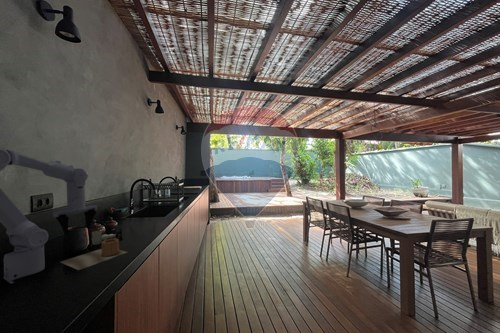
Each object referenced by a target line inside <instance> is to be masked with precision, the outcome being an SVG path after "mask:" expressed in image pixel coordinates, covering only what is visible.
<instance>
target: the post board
mask: <svg viewBox="0 0 500 333" xmlns="http://www.w3.org/2000/svg"><path fill="white" fill-rule="evenodd" d="M108 243H109V242H108ZM127 253H128V251H125V250H121V249H119V252H118V253H117V254H114V255H111V256H102V248H100V249H96V250H94V251H93V250H92V251H90V252H87V253H84V254H81V255H77V256H75V257H71V258H67V259H64V260H62V261H60V263H61V264H63V265H65V266H68V267H70V268H72V269H75V270H77V271H81V270H83V269H86V268H89V267H91V266H95V265H97V264H100V263H102V262H105V261H109V260H111V259H114V258H116V257H119V256H122V255H124V254H127Z"/></svg>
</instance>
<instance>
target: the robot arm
mask: <svg viewBox="0 0 500 333" xmlns="http://www.w3.org/2000/svg"><path fill="white" fill-rule="evenodd" d="M13 165H15V166H19V167H24V168H28V169H32V170H37V171H41V172H42V173H43V174H44V175H45V176H47V177H50V178H55V179H58V180H62V181H64V182H65V183H66V201H67V203H66V204H67V208H65V209H62V210H56V211H53V212H52V216H53V218H55V219H56V221H57V222H58V223H59V225H60V226H61V228H62V231H63V234H64V235H66V234H67V235H68V234H69V218H70V217H69V216H68V215H74V214H75V215H76V214H78V213H79V214H81V213H83V214H84V218H85V229H87V230H89V229H91V226H92V222H93V220H94V217H95V216H96V214H97V210H98V205H97V204H93V205H88V206H86V196H85V195H86V190H85V187H86V186H85V185H86V181H87V179H88V178H89V174H87V172H86V171H85V169H83V168H75V167H74V166H73V165H66V164H65V163H62V162H61V161H60V160H55V161H53V160H52V161H49V162H46V161H43V160H40V159H37V158H35V157H33V156H32V157H31V156H28V155H26V154H22V153H20V152H17V151H14V150H12V149H5V148H1V147H0V172H1V171H3V170H4V169H5V168H6V167H7V166H13ZM0 224H1V225H2V226H4V228H5V229H6V231H5V234H6V235H7V236H8V237H9V238H8V240H9V243H10V244H11V245H12V246H14V248H13V251H12V252H9V253H6V254H4V255H3V256H4V257H3V279H4V280H5V281H6V282H8V283H9V284H15V283H16V281H14V280H17V279H21V278H24V277H26V276H30V275H33V274H37V273H40V272H43V270H45V267H46V265H45V262H46V261H45V244H46V243H47V242H48V240H49V233H48V231H47V230H46V229H43V228H40V227H39V226H38V225H37V224H36V223H35V222H32V221H30V220H29V219H28V218H27V217H26V216H25V215H24V214H23V212H22V211H21V210H20V209H19V208H18V206H16V205H15V203H14V202H13V201H12V200H11V199H10V198H9V196H8V195H7V194H6V193H5V192H4V191H3V189H2V188H0Z"/></svg>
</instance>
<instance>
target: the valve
mask: <svg viewBox="0 0 500 333" xmlns="http://www.w3.org/2000/svg"><path fill="white" fill-rule="evenodd" d="M102 232H103V231H102V230H94V231H92V232H91V242H92V243H91V245H94V246H95V245H100V244H102V242H103V241H105V240H108V239H114V238H115V239H119V241H122V240H123V234H122V233H123V230H122V227H118V231H116V233H115V234H114V233H111V234H107V233H104V234H103V233H102Z"/></svg>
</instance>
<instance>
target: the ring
mask: <svg viewBox="0 0 500 333" xmlns="http://www.w3.org/2000/svg"><path fill="white" fill-rule="evenodd" d="M108 242H109V243H108ZM101 249H102V256H111V255H114V254H117V253H118V252H119V250H120V239H117V238H108V239H107V240H105V241H104V240H102V243H101Z"/></svg>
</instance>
